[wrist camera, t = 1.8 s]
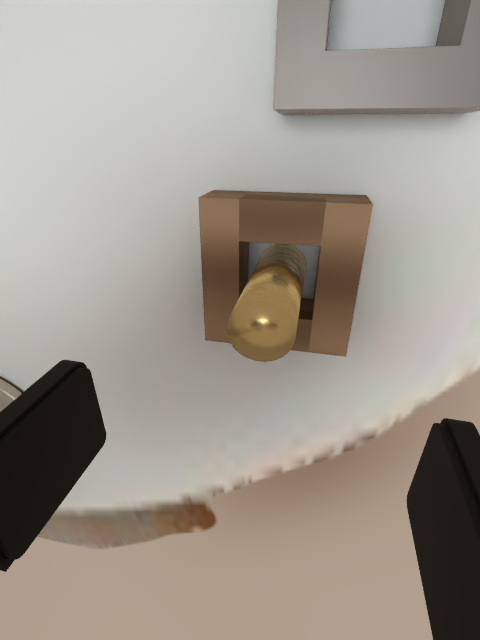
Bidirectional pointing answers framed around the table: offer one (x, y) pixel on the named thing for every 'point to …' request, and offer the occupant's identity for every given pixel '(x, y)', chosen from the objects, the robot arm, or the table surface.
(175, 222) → the table surface
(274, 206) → the walnut mount
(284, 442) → the table surface
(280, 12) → the charcoal dock
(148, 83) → the table surface
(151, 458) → the table surface
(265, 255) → the brass pin
